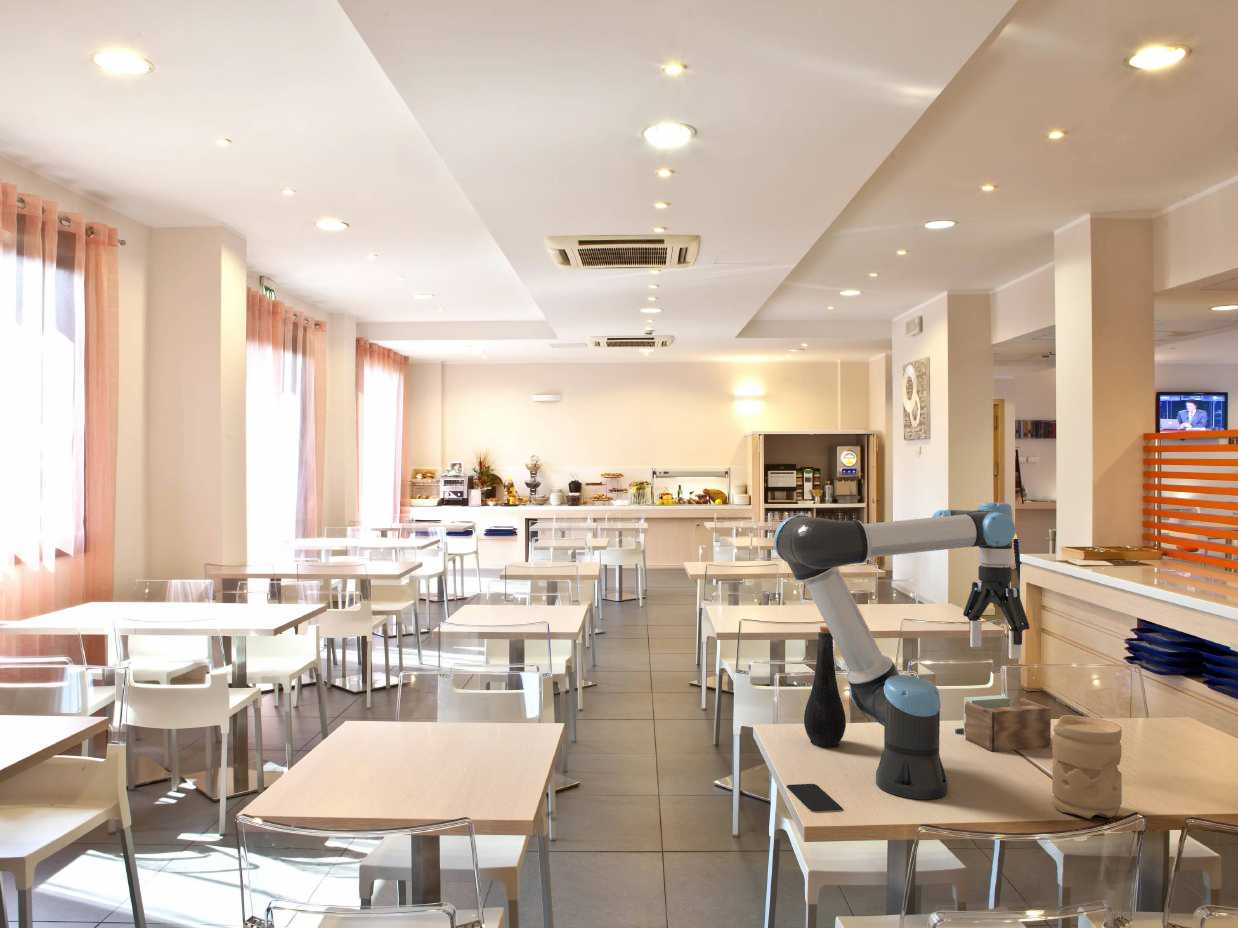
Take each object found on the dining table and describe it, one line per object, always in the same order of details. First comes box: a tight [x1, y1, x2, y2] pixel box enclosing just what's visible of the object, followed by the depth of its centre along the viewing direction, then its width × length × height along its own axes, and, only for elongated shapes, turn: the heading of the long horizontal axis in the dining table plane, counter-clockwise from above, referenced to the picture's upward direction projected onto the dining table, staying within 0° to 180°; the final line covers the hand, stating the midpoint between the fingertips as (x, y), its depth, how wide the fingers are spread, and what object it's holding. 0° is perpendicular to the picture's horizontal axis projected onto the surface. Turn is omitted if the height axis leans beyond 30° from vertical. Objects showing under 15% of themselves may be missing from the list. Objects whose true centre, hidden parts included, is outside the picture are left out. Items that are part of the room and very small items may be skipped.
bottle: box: [803, 625, 847, 749], centre depth 213 cm, size 11×11×30 cm
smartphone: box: [785, 783, 844, 814], centre depth 176 cm, size 7×1×15 cm
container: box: [1051, 714, 1123, 820], centre depth 172 cm, size 13×13×18 cm
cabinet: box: [954, 697, 1052, 752], centre depth 218 cm, size 18×16×10 cm
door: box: [963, 694, 1011, 736], centre depth 223 cm, size 12×3×10 cm, turn 105°
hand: (994, 652), depth 201 cm, fingers open, 13 cm apart
